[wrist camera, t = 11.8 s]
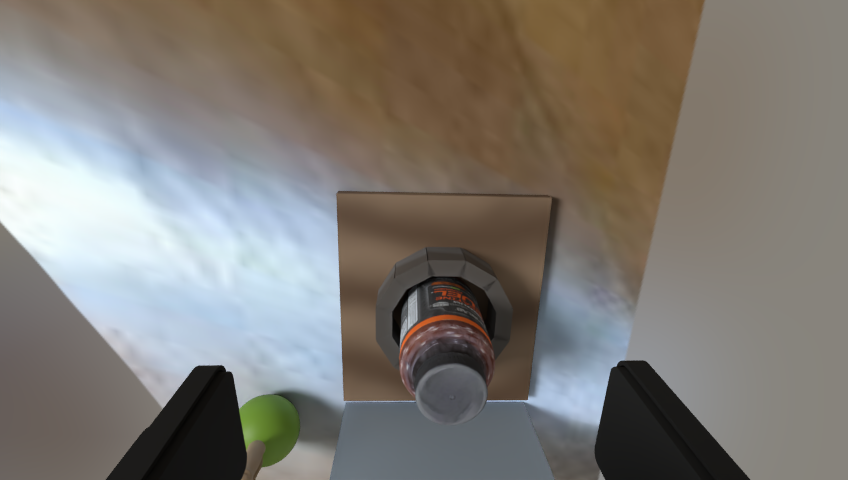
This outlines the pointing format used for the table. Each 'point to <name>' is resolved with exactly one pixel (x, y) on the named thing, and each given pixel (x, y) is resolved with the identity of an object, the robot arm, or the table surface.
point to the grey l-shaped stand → (437, 445)
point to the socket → (438, 256)
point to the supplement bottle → (445, 350)
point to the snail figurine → (268, 431)
